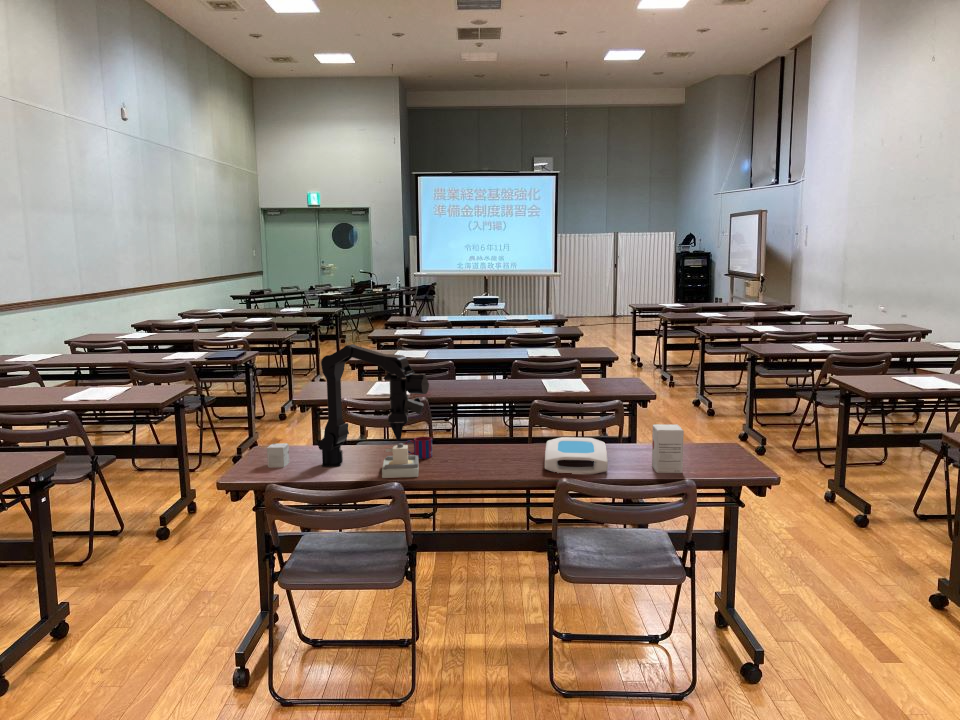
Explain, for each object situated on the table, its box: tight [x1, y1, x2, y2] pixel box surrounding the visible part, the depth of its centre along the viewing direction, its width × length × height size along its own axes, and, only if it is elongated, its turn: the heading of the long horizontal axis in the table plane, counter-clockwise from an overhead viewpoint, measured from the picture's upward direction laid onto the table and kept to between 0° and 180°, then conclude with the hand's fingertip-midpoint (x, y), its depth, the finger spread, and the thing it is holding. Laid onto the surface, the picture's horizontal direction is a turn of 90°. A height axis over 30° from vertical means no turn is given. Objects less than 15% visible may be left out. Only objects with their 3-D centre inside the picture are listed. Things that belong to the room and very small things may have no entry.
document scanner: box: [544, 436, 609, 475], centre depth 250 cm, size 21×28×6 cm
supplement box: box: [651, 423, 685, 474], centre depth 240 cm, size 9×9×15 cm
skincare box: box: [266, 442, 290, 469], centre depth 251 cm, size 6×6×7 cm
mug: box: [404, 436, 433, 460], centre depth 261 cm, size 7×10×7 cm
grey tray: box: [381, 454, 420, 479], centre depth 242 cm, size 12×14×4 cm
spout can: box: [385, 442, 409, 464], centre depth 241 cm, size 8×5×6 cm, turn 94°
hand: (399, 437), depth 241 cm, fingers open, 9 cm apart
